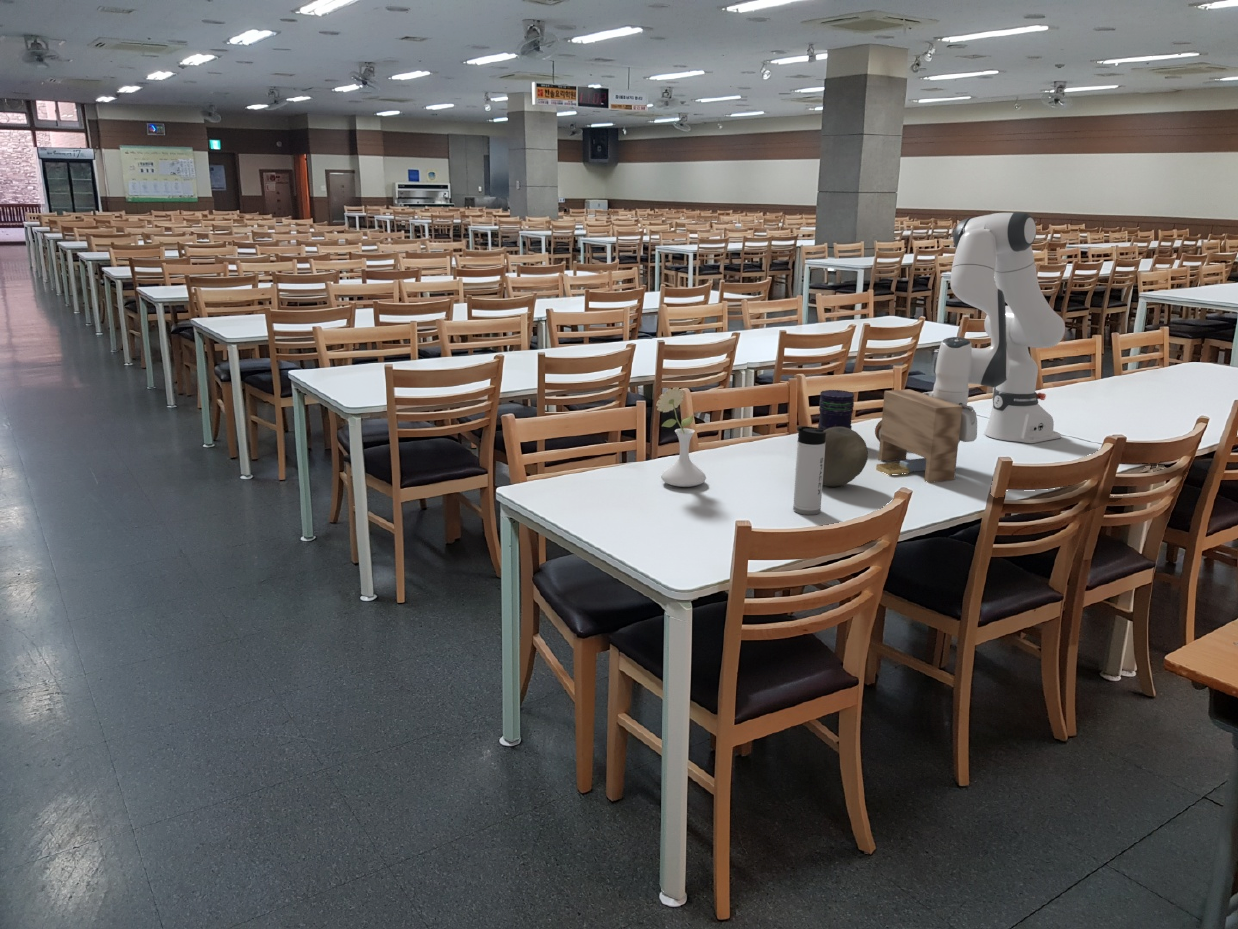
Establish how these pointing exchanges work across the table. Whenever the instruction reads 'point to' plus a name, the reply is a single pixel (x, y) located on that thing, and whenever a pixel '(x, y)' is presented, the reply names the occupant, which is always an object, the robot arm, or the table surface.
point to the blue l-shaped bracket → (915, 464)
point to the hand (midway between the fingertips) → (944, 450)
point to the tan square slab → (892, 468)
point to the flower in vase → (683, 468)
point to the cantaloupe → (843, 456)
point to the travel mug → (809, 470)
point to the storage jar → (835, 409)
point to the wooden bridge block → (921, 431)
